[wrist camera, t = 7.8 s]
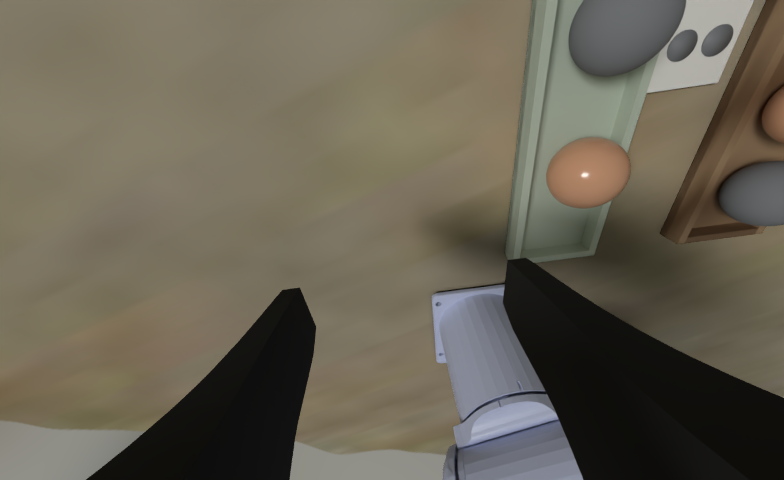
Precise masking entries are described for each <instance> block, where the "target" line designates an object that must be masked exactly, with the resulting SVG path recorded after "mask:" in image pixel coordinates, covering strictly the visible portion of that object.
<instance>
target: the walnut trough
mask: <svg viewBox="0 0 784 480" xmlns="http://www.w3.org/2000/svg"><path fill="white" fill-rule="evenodd" d="M783 86H784V0H767V1H766V3H765V5H764V7H763V9H762V12H761V14H760V16H759V18H758V20H757V23H756V25H755V27H754V29H753V31H752V34H751V36H750V38H749V40H748V42H747V44H746V47H745V49H744V51H743V53H742V55H741V58H740V60H739V62H738V64H737V66H736V68H735V71H734V73H733V75H732V77H731V79H730V82H729V84H728V86H727V88H726V90H725V93H724V95H723V97H722V99H721V101H720V103H719V106H718V108H717V110H716V112H715V114H714V117H713V119H712V121H711V123H710V125H709V127H708V130H707V132H706V134H705V136H704V138H703V141H702V143H701V145H700V147H699V149H698V152H697V154H696V156H695V158H694V160H693V162H692V165H691V167H690V169H689V171H688V173H687V176H686V178H685V180H684V182H683V184H682V187H681V189H680V191H679V193H678V195H677V197H676V200H675V202H674V204H673V206H672V208H671V211H670V213H669V215H668V217H667V219H666V221H665V224H664V226H663V228H662V230H661V232H660V234H662V235H663V236H665V237H666V238H668V239H669V240H671V241H673V242H674V243H676V244H684V243H691V242H699V241H706V240H714V239H722V238H729V237H737V236H745V235H752V234H760V233H762V232H763V231H764V229H765V228H766V226H755V225H749V224H745V223H742V222H739V221H737V220H735V219H733V218H731V217H730V216H728V215H727V214H726V213H725V212H724V211H723V209H722V208H721V206H720V203H719V192H720V189H721V187H722V185H723V184H724V182H725V181H726V180H727V179H728V178H729V177H730V176H732V175H733V174H734V173H736V172H737V171H739V170H741V169H743V168H745V167H748V166H751V165H753V164H757V163H761V162H767V161H784V144H783V143H780V142H778V141H776V140H774V139H773V138H771V137H770V136H769V135H768V134H767V133H766V132H765V130H764V128H763V126H762V120H761V119H762V113H763V110H764V107H765V105H766V104H767V102H768V101H769V99H770V98H771V97H772V96H773V95H774V94H775V93H776V92H777V91H778V90H779V89H780V88H782V87H783Z"/></svg>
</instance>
